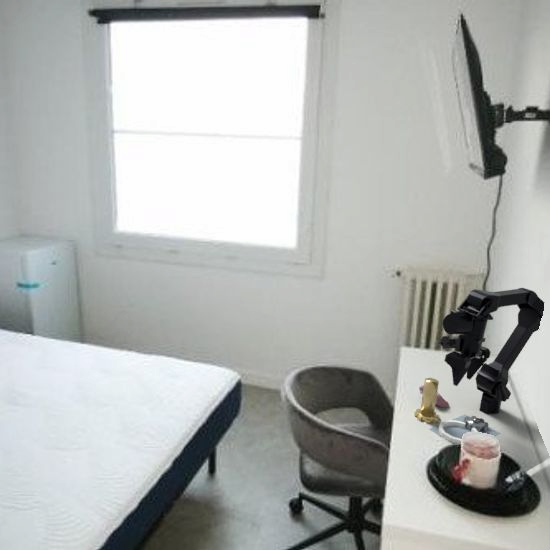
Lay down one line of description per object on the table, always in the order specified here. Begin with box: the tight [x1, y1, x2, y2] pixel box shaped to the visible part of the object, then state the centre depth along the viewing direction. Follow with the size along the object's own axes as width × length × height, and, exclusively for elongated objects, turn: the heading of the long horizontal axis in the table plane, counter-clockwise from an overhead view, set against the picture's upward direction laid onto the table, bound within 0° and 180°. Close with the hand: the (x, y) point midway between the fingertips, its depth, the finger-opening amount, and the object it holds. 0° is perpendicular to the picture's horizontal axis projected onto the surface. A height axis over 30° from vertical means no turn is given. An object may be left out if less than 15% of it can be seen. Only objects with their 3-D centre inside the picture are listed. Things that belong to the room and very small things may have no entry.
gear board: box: [429, 414, 501, 446], centre depth 148 cm, size 17×12×2 cm
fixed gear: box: [463, 415, 489, 432], centre depth 150 cm, size 7×7×2 cm
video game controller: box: [418, 384, 450, 408], centre depth 164 cm, size 10×5×7 cm, turn 21°
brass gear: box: [414, 377, 440, 424], centre depth 153 cm, size 7×7×13 cm
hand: (462, 382), depth 152 cm, fingers open, 9 cm apart
